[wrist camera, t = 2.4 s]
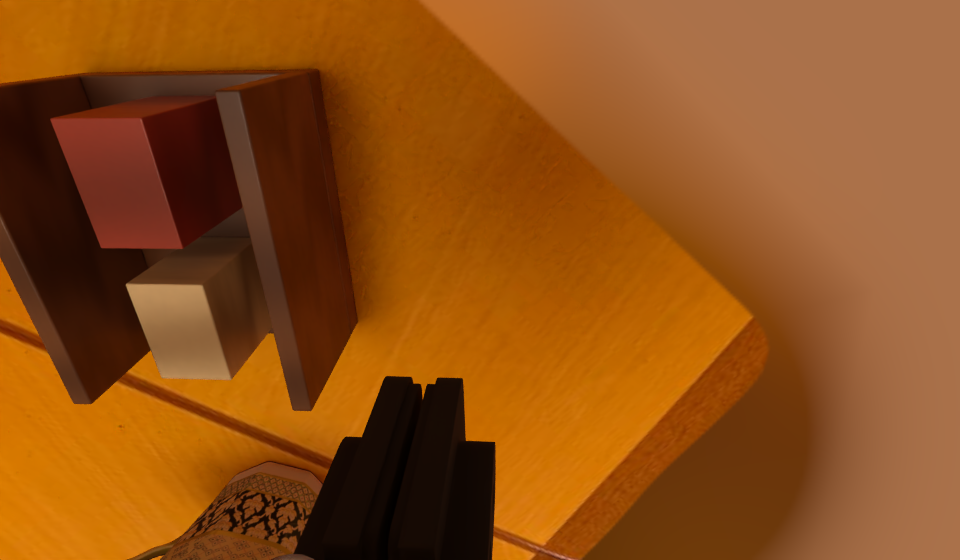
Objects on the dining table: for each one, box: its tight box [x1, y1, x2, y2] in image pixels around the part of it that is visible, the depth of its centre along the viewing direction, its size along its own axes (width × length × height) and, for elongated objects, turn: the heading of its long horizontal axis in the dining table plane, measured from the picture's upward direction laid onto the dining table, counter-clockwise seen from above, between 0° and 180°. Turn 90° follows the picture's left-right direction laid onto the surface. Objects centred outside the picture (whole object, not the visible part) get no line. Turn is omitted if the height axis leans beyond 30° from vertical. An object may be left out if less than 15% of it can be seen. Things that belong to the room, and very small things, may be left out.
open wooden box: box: [0, 69, 357, 411], centre depth 20 cm, size 12×10×7 cm
